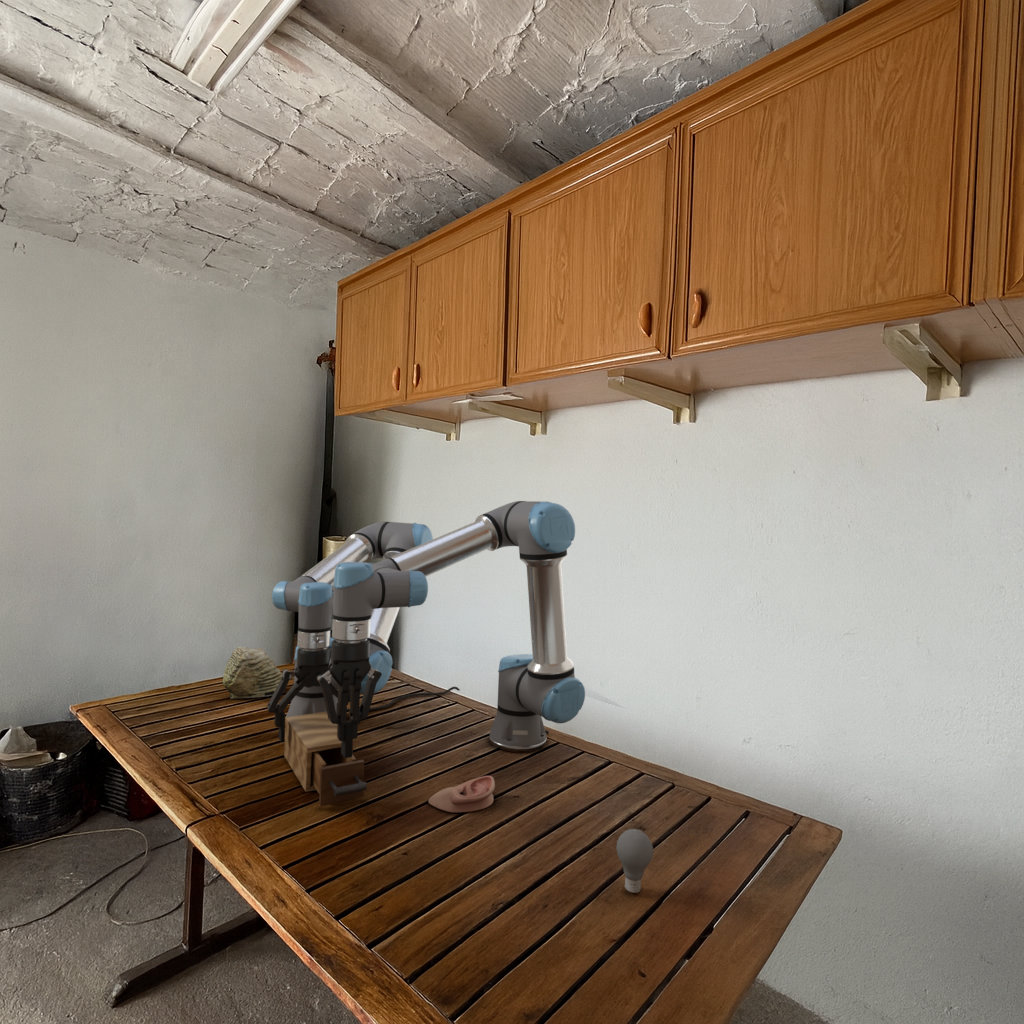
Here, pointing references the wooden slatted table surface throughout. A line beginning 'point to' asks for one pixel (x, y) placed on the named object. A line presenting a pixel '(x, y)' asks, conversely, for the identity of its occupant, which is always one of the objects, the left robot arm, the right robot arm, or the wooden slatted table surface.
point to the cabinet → (308, 742)
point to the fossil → (251, 674)
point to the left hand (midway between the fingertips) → (310, 735)
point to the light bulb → (634, 857)
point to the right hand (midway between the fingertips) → (346, 755)
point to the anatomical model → (465, 796)
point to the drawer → (337, 776)
